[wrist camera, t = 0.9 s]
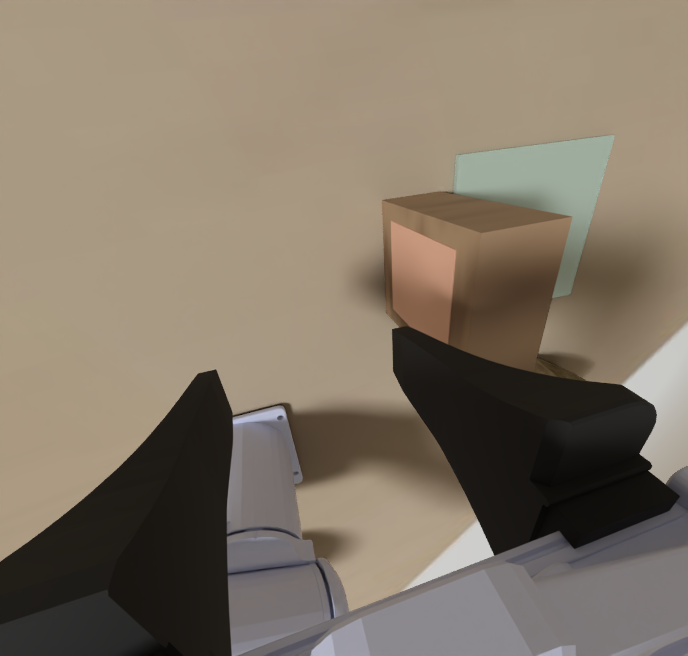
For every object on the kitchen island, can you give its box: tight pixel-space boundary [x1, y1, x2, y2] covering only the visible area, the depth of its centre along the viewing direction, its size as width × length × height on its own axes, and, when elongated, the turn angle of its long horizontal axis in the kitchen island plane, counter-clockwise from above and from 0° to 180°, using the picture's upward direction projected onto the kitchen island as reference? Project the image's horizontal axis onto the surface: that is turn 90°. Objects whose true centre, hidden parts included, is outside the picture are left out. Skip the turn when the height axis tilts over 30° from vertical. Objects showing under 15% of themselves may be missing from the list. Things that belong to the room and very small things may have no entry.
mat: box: [453, 135, 615, 299], centre depth 24 cm, size 12×12×1 cm
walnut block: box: [382, 192, 572, 372], centre depth 18 cm, size 8×4×10 cm, turn 6°
